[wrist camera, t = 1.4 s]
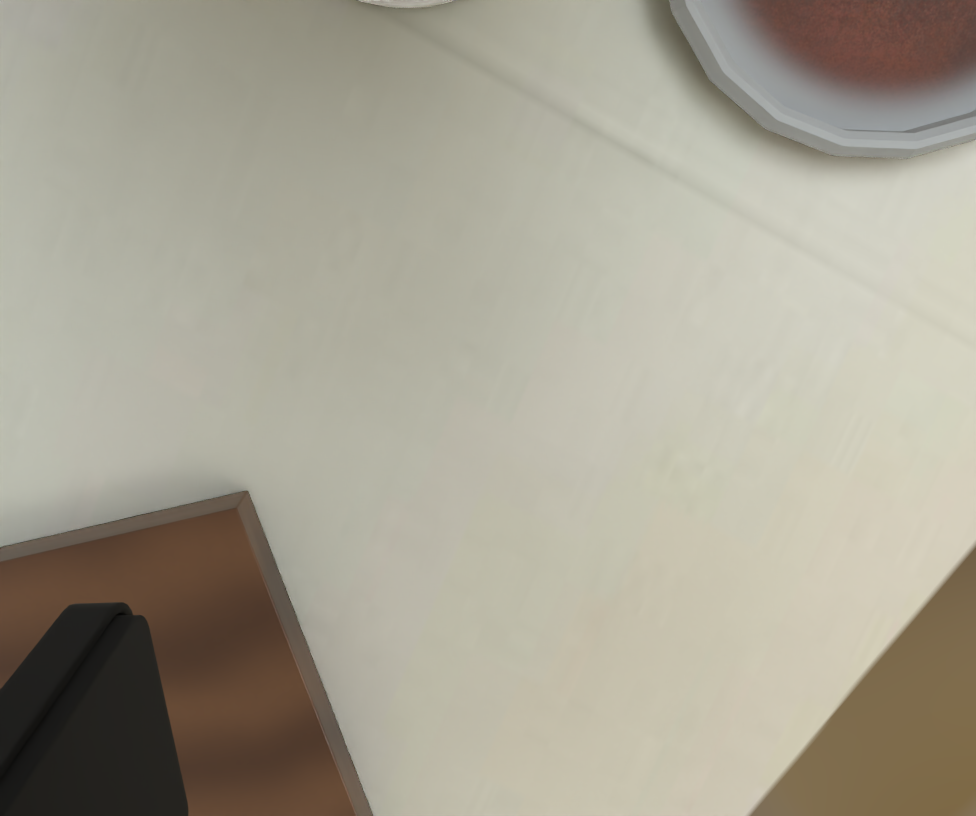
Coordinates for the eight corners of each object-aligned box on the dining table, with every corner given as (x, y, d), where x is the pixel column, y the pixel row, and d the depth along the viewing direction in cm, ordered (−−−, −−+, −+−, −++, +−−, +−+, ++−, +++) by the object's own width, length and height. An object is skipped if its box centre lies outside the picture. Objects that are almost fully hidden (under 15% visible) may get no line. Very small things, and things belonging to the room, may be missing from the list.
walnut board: (-77, 564, 43) (-101, 585, 41) (248, 489, 41) (236, 507, 40) (123, 939, 51) (109, 969, 49) (402, 891, 49) (398, 921, 47)
